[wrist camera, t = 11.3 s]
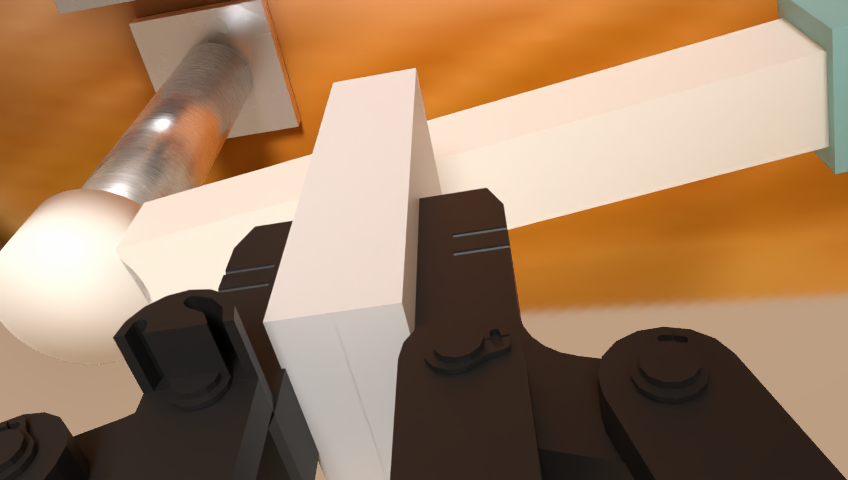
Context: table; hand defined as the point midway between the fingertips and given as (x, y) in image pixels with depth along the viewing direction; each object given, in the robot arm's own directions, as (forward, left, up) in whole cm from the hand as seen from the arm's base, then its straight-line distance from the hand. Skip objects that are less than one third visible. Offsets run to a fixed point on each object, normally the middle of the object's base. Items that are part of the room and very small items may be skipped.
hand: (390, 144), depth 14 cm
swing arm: (+3, 0, -6) cm, 7 cm away
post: (+5, -10, -21) cm, 24 cm away
